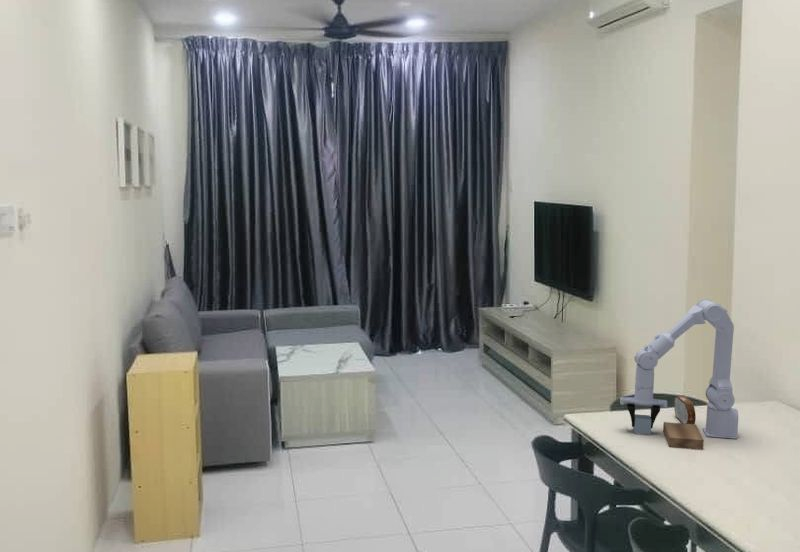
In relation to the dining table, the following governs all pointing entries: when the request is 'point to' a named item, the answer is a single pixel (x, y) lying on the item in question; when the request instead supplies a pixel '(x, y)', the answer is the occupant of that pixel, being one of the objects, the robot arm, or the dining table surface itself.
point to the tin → (684, 410)
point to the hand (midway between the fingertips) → (642, 427)
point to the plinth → (683, 435)
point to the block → (642, 424)
